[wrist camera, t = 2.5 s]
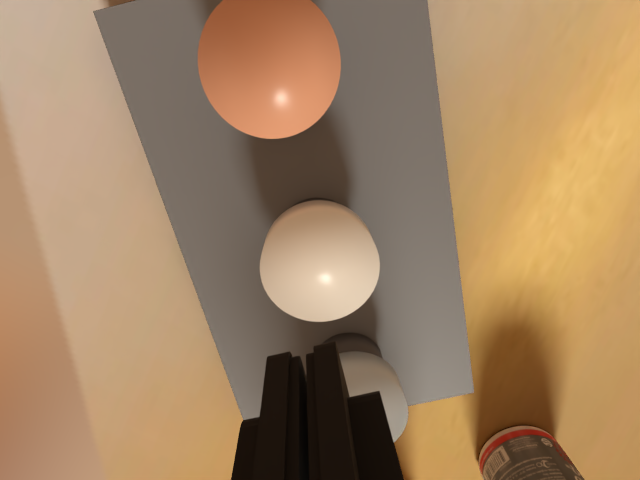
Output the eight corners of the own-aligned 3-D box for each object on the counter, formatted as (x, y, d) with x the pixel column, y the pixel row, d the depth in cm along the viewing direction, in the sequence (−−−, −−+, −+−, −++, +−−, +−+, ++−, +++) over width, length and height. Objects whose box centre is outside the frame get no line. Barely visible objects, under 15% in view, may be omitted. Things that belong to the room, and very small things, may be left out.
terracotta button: (321, -19, 15) (323, -33, 14) (348, 118, 17) (353, 121, 15) (191, 13, 15) (177, 4, 14) (230, 146, 17) (222, 152, 15)
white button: (362, 188, 18) (367, 198, 16) (381, 289, 20) (388, 308, 18) (250, 214, 18) (245, 226, 16) (279, 311, 20) (276, 332, 18)
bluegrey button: (391, 342, 21) (399, 364, 19) (406, 419, 22) (415, 446, 21) (294, 362, 21) (293, 386, 19) (316, 437, 22) (317, 465, 21)
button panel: (407, -56, 19) (427, -85, 16) (462, 371, 27) (482, 408, 24) (113, 19, 19) (77, 5, 16) (253, 414, 27) (247, 455, 24)
